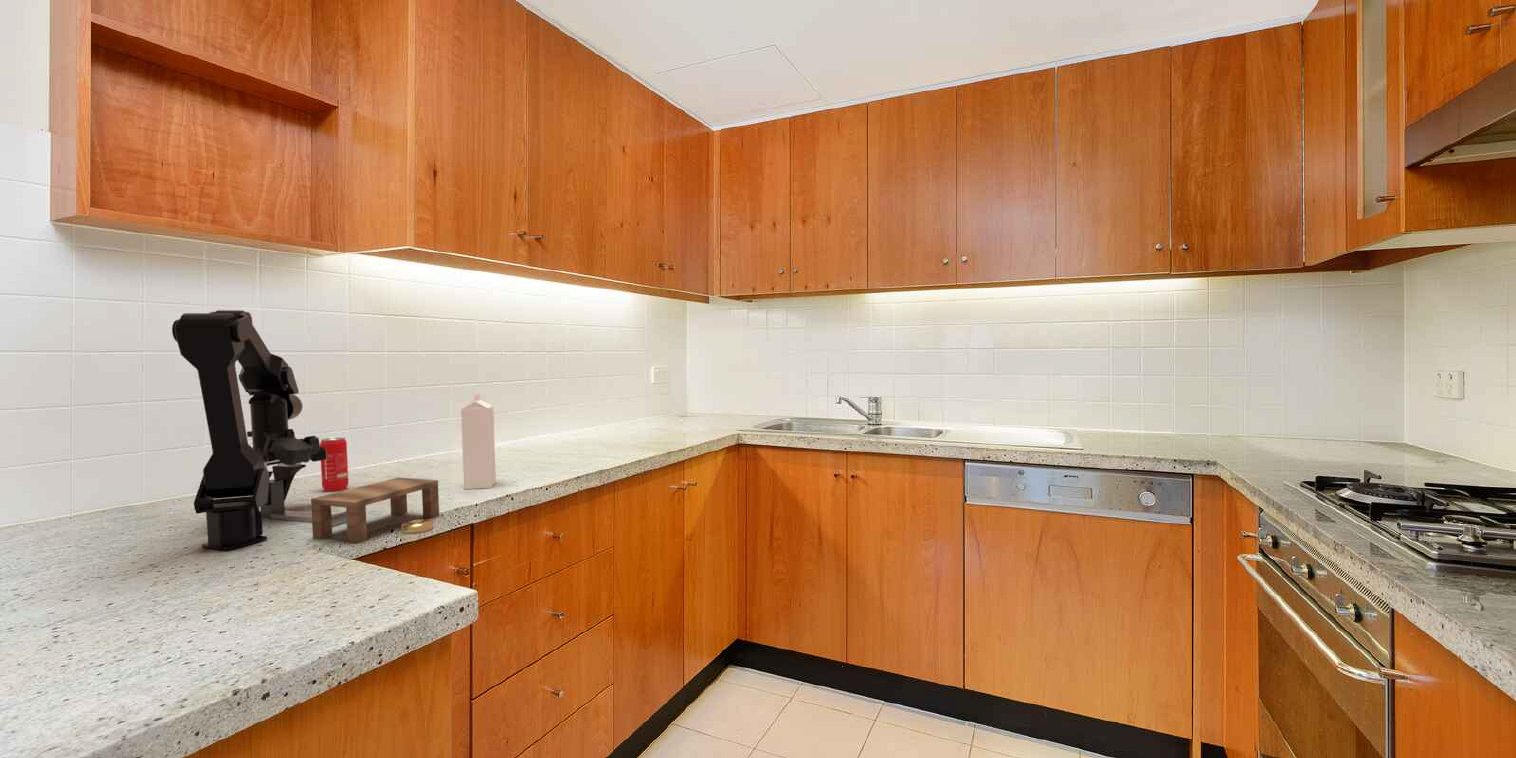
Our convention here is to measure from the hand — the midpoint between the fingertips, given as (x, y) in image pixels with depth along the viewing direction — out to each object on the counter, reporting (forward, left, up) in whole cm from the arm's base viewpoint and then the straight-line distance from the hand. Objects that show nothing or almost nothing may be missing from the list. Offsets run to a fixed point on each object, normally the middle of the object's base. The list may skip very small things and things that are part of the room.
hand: (274, 503), depth 125 cm
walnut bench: (0, -27, -3) cm, 27 cm away
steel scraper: (0, -8, -2) cm, 9 cm away
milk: (+33, -21, -3) cm, 39 cm away
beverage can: (+21, +10, -3) cm, 23 cm away
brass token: (0, -36, -3) cm, 36 cm away
